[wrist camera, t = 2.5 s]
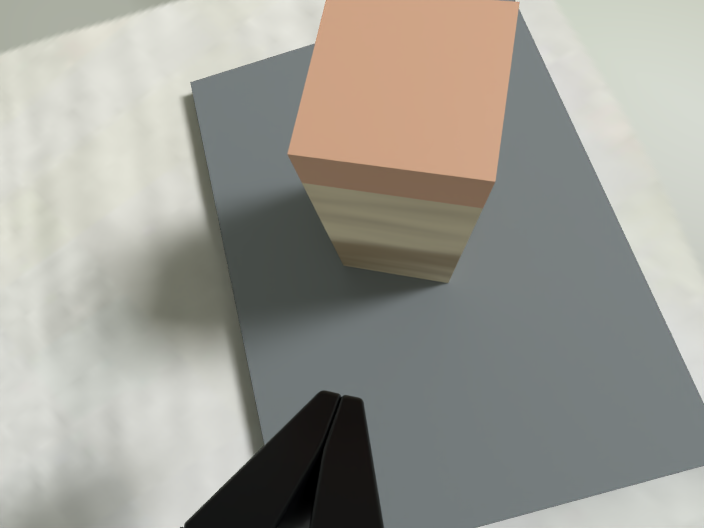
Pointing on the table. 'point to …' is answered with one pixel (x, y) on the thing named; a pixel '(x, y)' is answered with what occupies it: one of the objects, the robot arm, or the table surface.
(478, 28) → the beech block
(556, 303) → the slate mat
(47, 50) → the table surface
